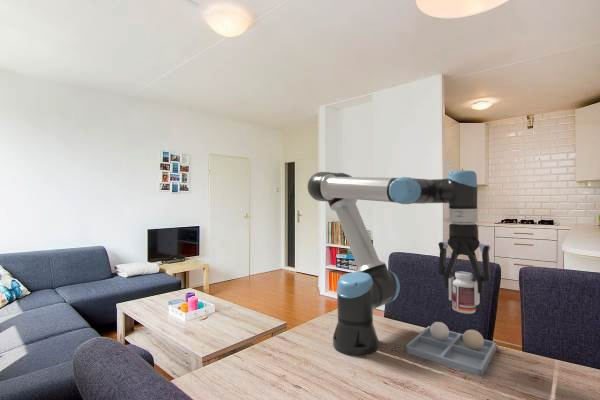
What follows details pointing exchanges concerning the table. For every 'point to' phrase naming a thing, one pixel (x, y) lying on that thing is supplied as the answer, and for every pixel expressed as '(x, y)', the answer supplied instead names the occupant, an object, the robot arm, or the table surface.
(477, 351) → the divided tray
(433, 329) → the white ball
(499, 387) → the table surface
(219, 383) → the table surface
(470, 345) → the egg brown
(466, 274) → the pill bottle
